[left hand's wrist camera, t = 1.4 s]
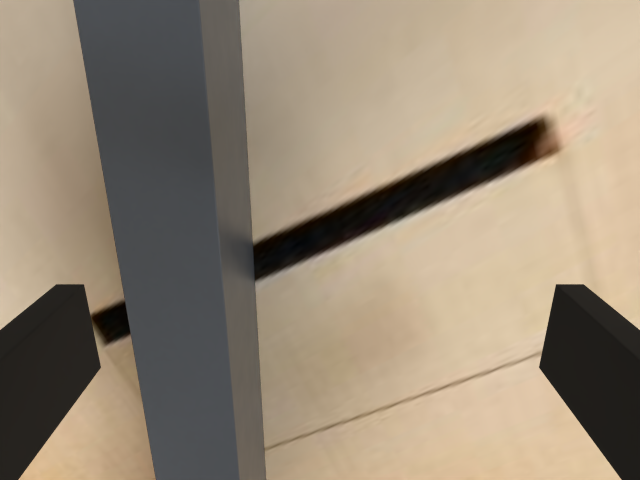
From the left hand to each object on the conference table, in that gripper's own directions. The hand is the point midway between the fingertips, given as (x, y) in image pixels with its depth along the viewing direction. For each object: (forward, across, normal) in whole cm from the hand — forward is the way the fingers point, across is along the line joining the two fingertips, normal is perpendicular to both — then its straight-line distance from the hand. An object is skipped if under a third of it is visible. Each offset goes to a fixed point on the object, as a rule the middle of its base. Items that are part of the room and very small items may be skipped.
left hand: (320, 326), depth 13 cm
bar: (+16, -6, -21) cm, 27 cm away
